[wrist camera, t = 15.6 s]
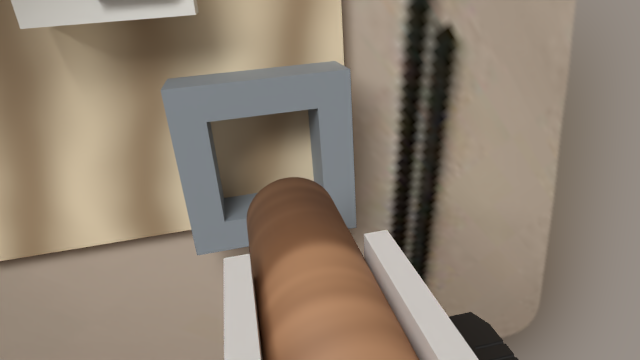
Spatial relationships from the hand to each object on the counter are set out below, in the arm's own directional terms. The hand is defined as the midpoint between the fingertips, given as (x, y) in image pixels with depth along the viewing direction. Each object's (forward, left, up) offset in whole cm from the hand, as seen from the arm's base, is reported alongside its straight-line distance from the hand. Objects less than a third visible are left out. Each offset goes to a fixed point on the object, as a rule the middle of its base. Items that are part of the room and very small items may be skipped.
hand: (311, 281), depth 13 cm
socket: (0, 0, -13) cm, 13 cm away
